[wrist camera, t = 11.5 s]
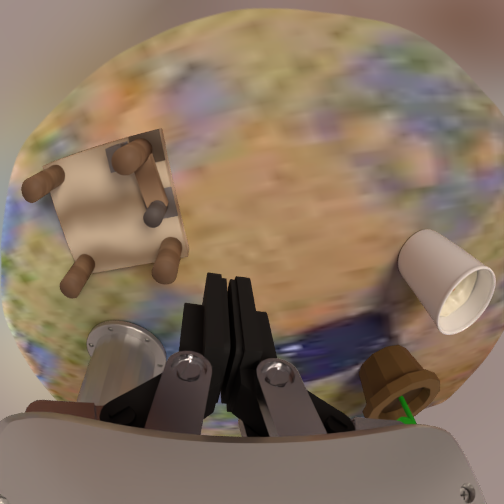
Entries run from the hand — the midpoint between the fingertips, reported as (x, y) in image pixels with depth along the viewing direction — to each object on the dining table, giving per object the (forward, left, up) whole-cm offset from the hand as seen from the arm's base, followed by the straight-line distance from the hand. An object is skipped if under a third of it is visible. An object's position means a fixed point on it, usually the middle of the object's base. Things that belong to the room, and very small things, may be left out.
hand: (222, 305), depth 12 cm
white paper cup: (-15, -26, -22) cm, 37 cm away
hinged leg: (+2, +7, -20) cm, 21 cm away
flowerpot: (-38, -23, -22) cm, 50 cm away
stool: (-1, +12, -22) cm, 25 cm away
